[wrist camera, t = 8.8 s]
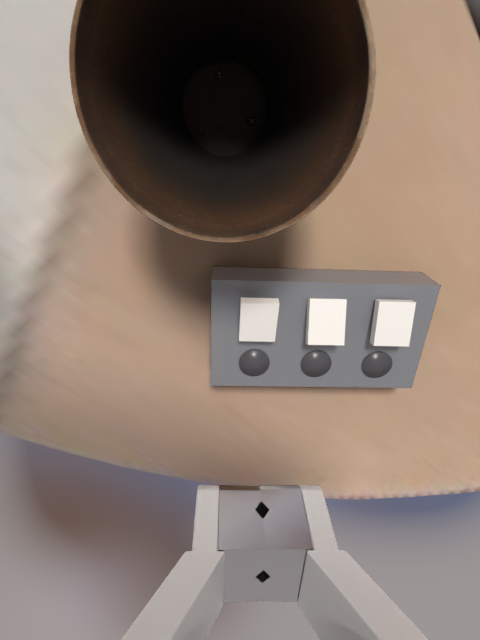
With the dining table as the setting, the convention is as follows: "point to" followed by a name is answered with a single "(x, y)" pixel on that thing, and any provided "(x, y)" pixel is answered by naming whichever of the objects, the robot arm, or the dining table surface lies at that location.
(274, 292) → the switch panel
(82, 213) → the dining table surface
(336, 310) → the rocker
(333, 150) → the plant pot
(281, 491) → the robot arm
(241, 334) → the rocker
